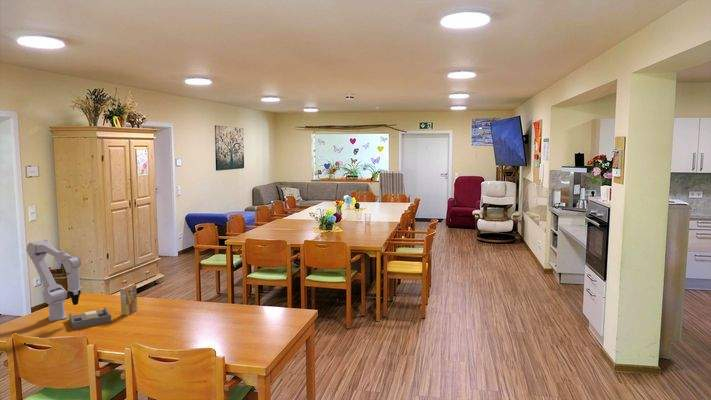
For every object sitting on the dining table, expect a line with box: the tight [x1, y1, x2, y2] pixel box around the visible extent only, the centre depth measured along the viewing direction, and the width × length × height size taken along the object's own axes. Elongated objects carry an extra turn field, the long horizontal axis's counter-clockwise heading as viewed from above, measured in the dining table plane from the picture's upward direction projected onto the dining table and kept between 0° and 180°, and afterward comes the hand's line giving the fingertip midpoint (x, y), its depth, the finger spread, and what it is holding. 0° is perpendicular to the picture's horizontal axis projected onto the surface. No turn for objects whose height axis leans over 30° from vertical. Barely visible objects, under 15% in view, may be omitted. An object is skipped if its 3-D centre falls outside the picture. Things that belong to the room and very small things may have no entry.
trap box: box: [68, 306, 112, 330], centre depth 266 cm, size 17×18×4 cm
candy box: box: [119, 283, 139, 316], centre depth 277 cm, size 9×4×15 cm, turn 166°
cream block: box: [84, 310, 97, 320], centre depth 262 cm, size 5×5×4 cm
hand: (75, 304), depth 264 cm, fingers closed
